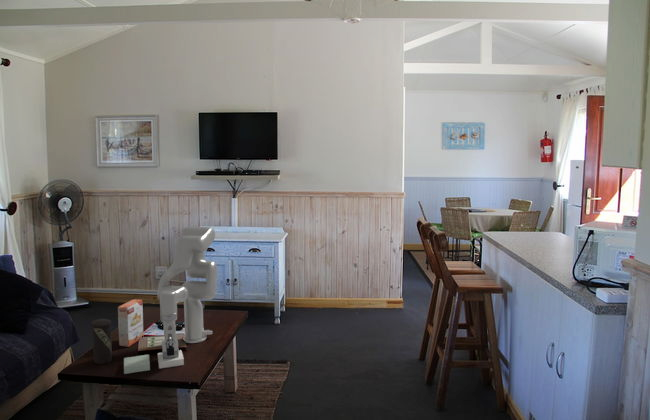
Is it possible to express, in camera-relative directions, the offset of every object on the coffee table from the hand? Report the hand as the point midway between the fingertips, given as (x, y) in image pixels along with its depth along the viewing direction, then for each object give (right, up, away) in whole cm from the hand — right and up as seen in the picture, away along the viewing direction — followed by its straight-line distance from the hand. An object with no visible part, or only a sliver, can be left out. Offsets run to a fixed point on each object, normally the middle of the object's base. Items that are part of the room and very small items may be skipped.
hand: (169, 351), depth 236 cm
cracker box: (-28, -2, +26) cm, 38 cm away
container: (-33, -5, +2) cm, 33 cm away
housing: (0, -2, +1) cm, 2 cm away
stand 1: (-14, -6, -4) cm, 16 cm away
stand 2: (0, -5, +1) cm, 5 cm away
